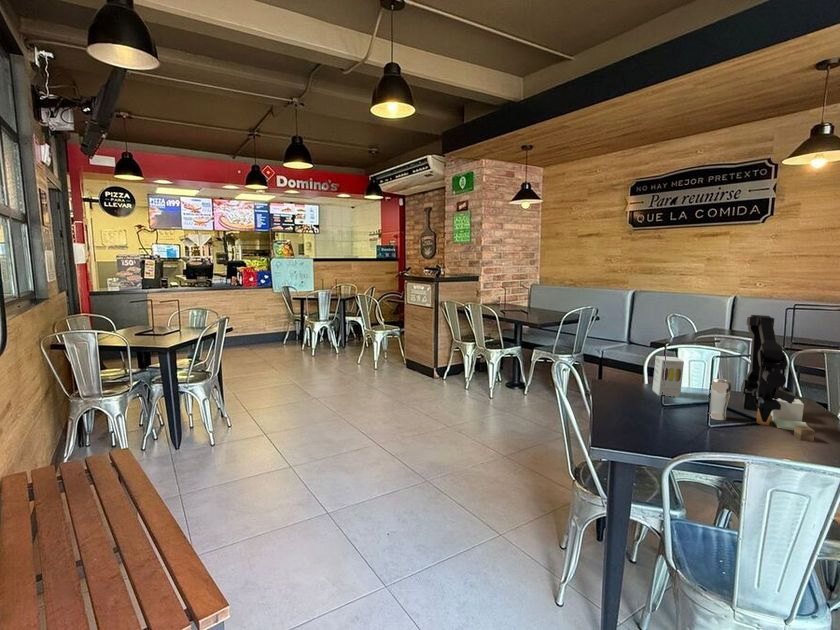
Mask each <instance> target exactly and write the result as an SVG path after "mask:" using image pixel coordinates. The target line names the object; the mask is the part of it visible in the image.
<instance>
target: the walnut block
mask: <svg viewBox="0 0 840 630" xmlns="http://www.w3.org/2000/svg"><path fill="white" fill-rule="evenodd" d="M793 431H794V432H793V437H795V438H796V439H798V441H801V442H802V441H803V442H804V441H805V442H812V443H813V442H814V441H815V432H816V430H814V428H812V427H810V426H809V427H807V426H796V425H795V430H793Z"/></svg>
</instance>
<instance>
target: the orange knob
mask: <svg viewBox="0 0 840 630" xmlns="http://www.w3.org/2000/svg"><path fill="white" fill-rule="evenodd" d="M756 415H757V416H756V423H757V424H759V425H762V426H769V425H770V423H771V417H772V416H771V413H770V415H769V417H768V419H767V421H766V422H763V421H762V418H761V415H760V412H759V409H758V411H757V414H756Z"/></svg>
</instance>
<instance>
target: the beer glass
mask: <svg viewBox="0 0 840 630" xmlns="http://www.w3.org/2000/svg"><path fill="white" fill-rule="evenodd" d="M711 379H712V385H711V390H710V388H709V392H708V394H710V393H711V414H710V416H711V418H710V419H712V420H715V421H716V420H717V421H726V420H727V407H728V404H729V401H730V398H731V392H732V386H731V384H732V382H731V381H730V380H728V379H723V378H711Z"/></svg>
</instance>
